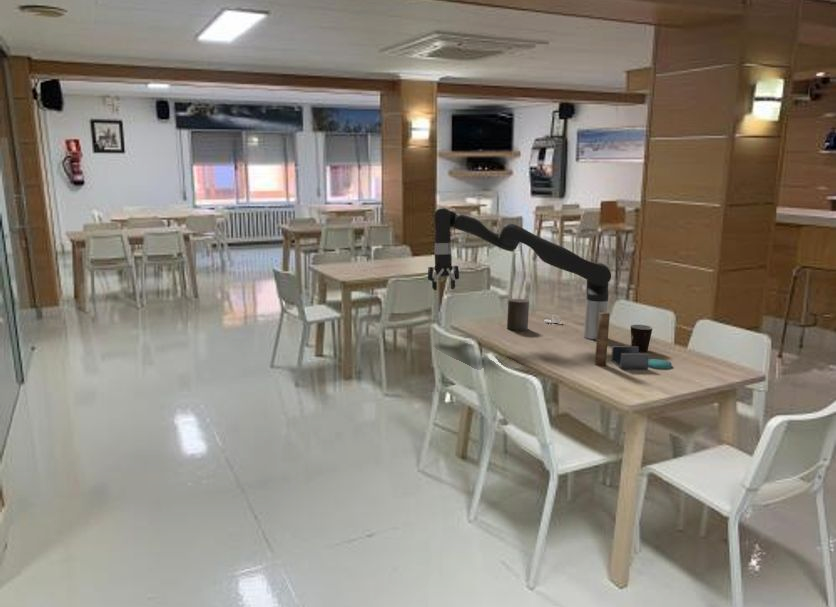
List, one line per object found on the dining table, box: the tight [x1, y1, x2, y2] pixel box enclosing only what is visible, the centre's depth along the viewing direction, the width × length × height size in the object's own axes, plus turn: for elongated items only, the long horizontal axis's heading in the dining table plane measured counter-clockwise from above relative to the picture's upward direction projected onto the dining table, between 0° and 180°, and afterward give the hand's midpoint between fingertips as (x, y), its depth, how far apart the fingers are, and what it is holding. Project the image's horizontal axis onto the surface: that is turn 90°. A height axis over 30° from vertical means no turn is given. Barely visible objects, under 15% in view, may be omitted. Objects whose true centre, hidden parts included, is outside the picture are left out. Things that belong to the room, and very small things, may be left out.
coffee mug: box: [630, 324, 653, 353], centre depth 263 cm, size 12×9×10 cm
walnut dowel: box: [594, 312, 611, 367], centre depth 242 cm, size 4×4×20 cm
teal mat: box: [648, 358, 673, 370], centre depth 245 cm, size 10×10×1 cm
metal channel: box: [610, 345, 650, 371], centre depth 244 cm, size 12×10×6 cm
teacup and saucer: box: [544, 315, 562, 324], centre depth 312 cm, size 9×8×4 cm
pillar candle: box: [506, 297, 530, 332], centre depth 298 cm, size 10×10×15 cm
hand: (443, 289), depth 285 cm, fingers open, 8 cm apart
